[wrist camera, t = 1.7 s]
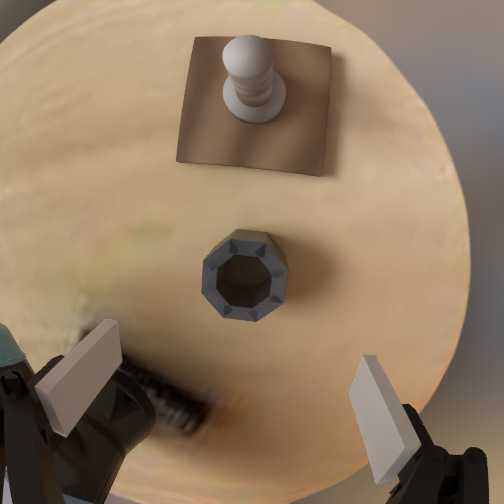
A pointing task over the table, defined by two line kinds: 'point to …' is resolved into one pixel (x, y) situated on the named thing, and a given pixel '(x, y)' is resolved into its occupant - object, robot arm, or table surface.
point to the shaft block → (256, 104)
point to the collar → (238, 298)
